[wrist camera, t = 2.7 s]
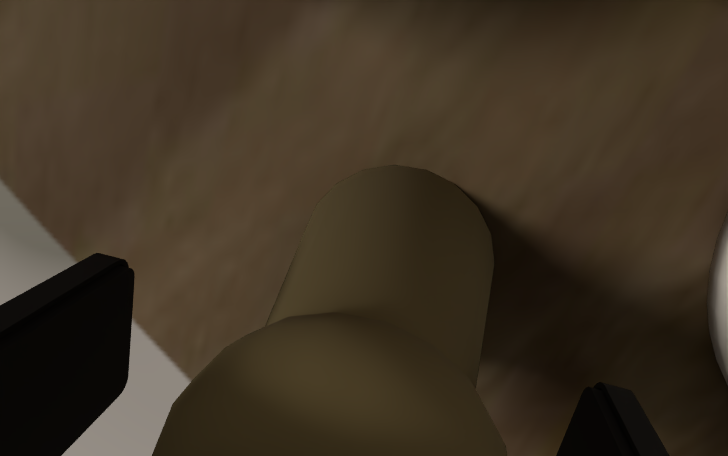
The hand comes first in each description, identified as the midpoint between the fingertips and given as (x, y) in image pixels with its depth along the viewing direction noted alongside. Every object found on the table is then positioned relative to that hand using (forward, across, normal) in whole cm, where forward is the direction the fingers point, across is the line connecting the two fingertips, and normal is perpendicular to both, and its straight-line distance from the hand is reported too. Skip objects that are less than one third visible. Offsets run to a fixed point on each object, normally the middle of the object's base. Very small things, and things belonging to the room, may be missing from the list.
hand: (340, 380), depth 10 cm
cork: (+6, 0, 0) cm, 7 cm away
